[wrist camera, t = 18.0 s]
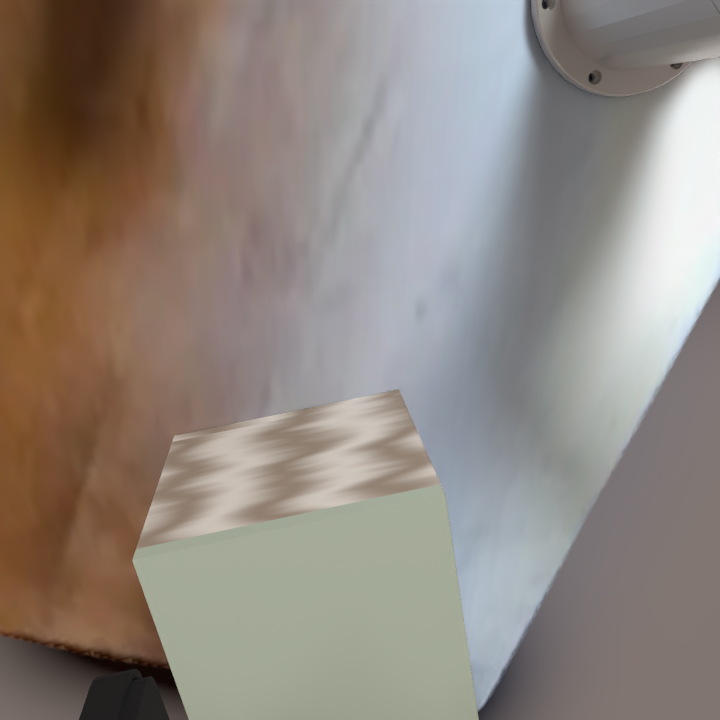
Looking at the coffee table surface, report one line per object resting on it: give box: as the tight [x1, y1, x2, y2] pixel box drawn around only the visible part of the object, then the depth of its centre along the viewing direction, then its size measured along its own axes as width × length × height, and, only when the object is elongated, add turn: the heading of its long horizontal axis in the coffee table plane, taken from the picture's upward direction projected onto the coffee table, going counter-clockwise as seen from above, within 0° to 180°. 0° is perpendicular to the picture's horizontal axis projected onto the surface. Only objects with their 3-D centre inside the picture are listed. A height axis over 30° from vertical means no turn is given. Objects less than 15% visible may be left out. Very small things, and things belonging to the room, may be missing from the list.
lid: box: [132, 484, 479, 720], centre depth 39 cm, size 17×17×1 cm
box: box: [136, 390, 440, 549], centre depth 46 cm, size 17×17×14 cm
